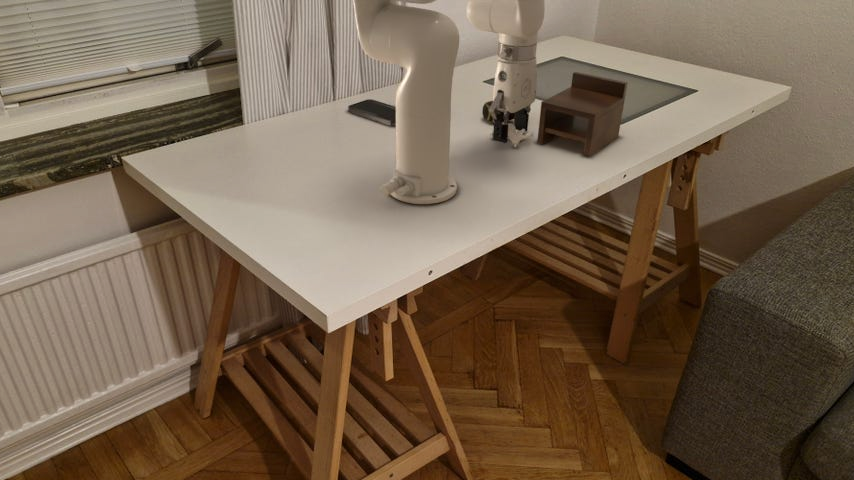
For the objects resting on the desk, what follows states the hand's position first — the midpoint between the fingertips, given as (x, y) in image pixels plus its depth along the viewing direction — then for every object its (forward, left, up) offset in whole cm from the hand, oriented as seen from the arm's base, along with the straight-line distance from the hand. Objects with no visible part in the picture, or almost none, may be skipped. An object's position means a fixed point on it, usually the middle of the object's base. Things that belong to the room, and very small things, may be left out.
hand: (510, 135), depth 147 cm
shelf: (+10, -11, -1) cm, 15 cm away
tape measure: (+10, +9, -2) cm, 13 cm away
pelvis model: (0, 0, -2) cm, 2 cm away
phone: (-5, +32, -1) cm, 32 cm away
